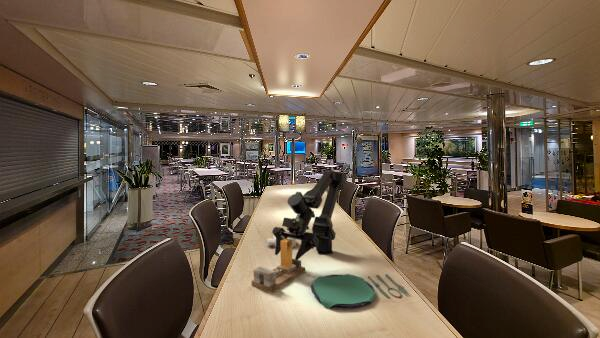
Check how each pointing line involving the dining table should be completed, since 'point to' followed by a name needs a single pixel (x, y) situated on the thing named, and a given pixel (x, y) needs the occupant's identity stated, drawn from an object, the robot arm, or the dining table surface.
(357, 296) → the cutlery set
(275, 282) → the brown piece
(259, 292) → the dining table surface
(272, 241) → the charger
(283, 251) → the orange wooden beam
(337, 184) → the robot arm
